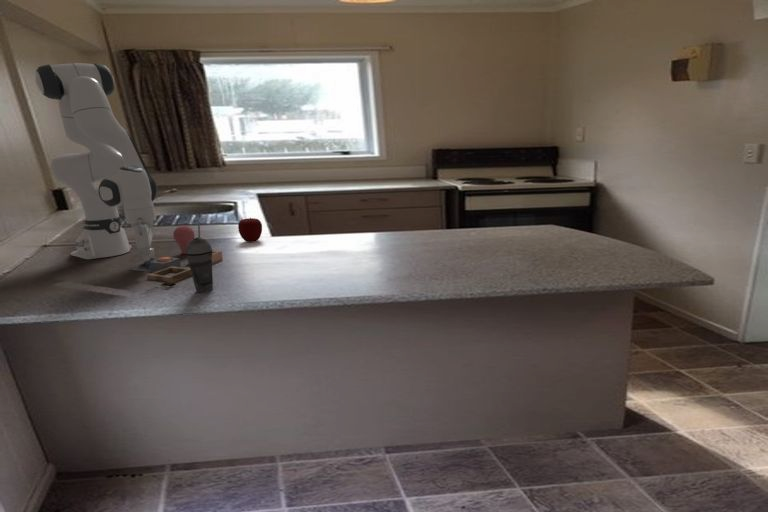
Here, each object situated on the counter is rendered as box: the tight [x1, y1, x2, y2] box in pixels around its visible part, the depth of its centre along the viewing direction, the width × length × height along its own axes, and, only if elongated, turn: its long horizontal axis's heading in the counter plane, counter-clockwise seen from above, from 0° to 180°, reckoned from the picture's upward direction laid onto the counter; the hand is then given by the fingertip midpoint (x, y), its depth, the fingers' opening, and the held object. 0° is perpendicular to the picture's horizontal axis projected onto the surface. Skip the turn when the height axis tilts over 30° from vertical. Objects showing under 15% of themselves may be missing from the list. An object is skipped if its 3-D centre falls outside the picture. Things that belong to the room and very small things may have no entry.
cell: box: [142, 247, 157, 268], centre depth 154 cm, size 4×4×7 cm
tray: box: [146, 266, 192, 287], centre depth 143 cm, size 9×9×3 cm
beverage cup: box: [184, 222, 214, 294], centre depth 131 cm, size 7×7×20 cm
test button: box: [158, 256, 171, 262], centre depth 152 cm, size 4×4×2 cm
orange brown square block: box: [186, 250, 224, 266], centre depth 158 cm, size 8×8×4 cm
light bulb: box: [173, 225, 195, 255], centre depth 169 cm, size 7×7×12 cm
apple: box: [237, 217, 263, 243], centre depth 190 cm, size 10×10×10 cm
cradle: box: [130, 256, 186, 273], centre depth 153 cm, size 14×10×4 cm
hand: (148, 257), depth 153 cm, fingers open, 8 cm apart
